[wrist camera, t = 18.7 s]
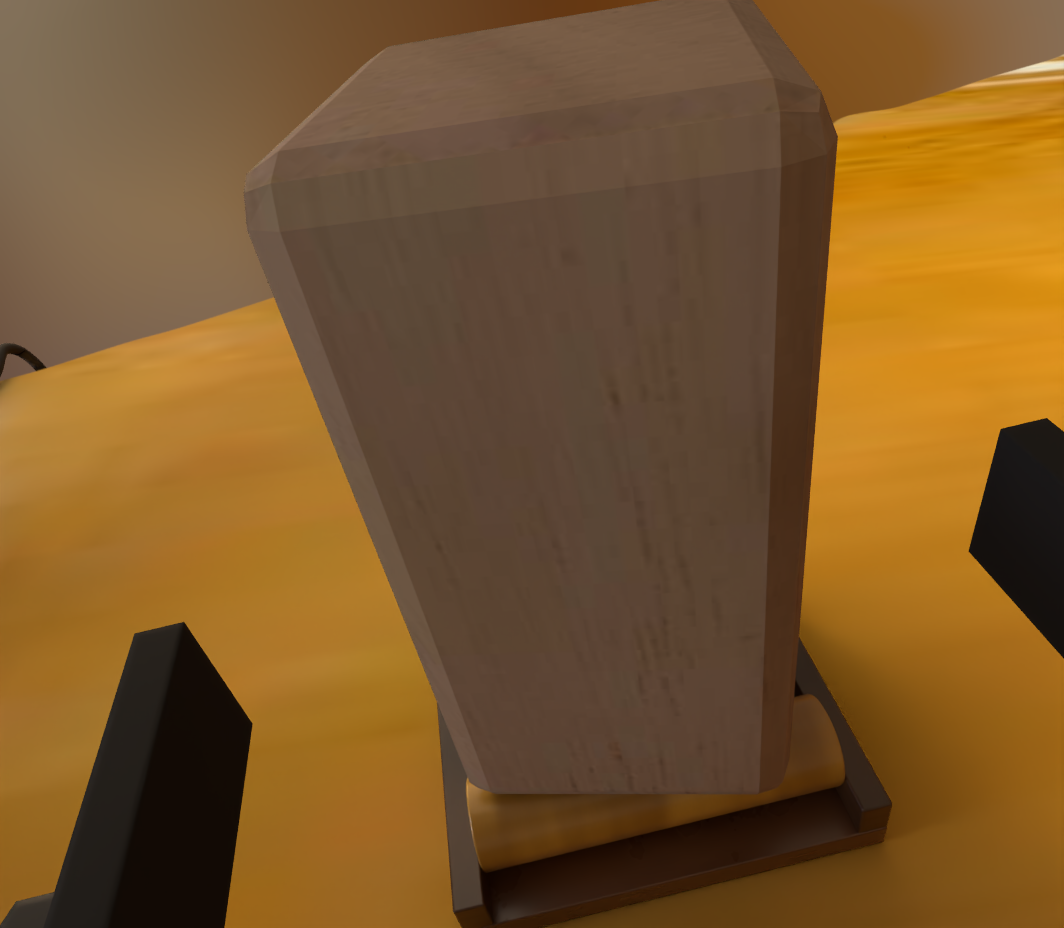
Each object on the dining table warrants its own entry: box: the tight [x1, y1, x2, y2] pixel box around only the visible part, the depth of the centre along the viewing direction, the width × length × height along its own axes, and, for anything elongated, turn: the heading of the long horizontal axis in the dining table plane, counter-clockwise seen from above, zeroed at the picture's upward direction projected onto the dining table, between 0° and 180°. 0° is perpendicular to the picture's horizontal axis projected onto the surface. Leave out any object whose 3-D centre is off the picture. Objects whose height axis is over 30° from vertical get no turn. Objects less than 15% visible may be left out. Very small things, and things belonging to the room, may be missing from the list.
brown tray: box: [437, 638, 892, 928], centre depth 29 cm, size 12×14×4 cm
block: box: [244, 0, 838, 794], centre depth 22 cm, size 10×10×20 cm
